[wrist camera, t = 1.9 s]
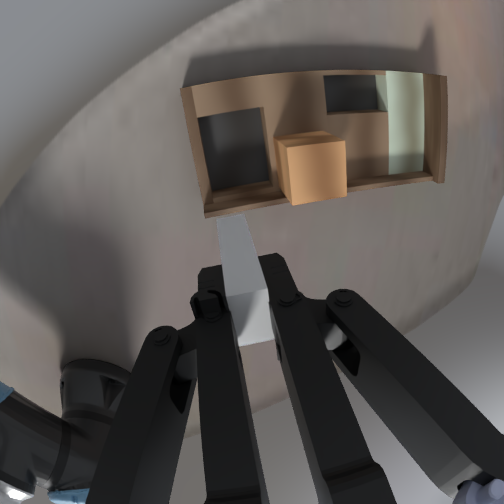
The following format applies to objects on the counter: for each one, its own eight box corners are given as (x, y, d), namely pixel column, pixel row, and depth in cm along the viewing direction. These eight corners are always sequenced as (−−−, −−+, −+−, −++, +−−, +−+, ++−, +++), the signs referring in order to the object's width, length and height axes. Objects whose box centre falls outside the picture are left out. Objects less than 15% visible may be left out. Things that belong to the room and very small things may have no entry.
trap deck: (204, 200, 32) (205, 223, 28) (181, 88, 26) (177, 88, 21) (417, 167, 34) (444, 182, 29) (416, 72, 28) (446, 76, 23)
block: (278, 186, 30) (292, 205, 26) (272, 136, 28) (286, 147, 23) (326, 178, 31) (346, 196, 26) (323, 130, 28) (345, 140, 24)
